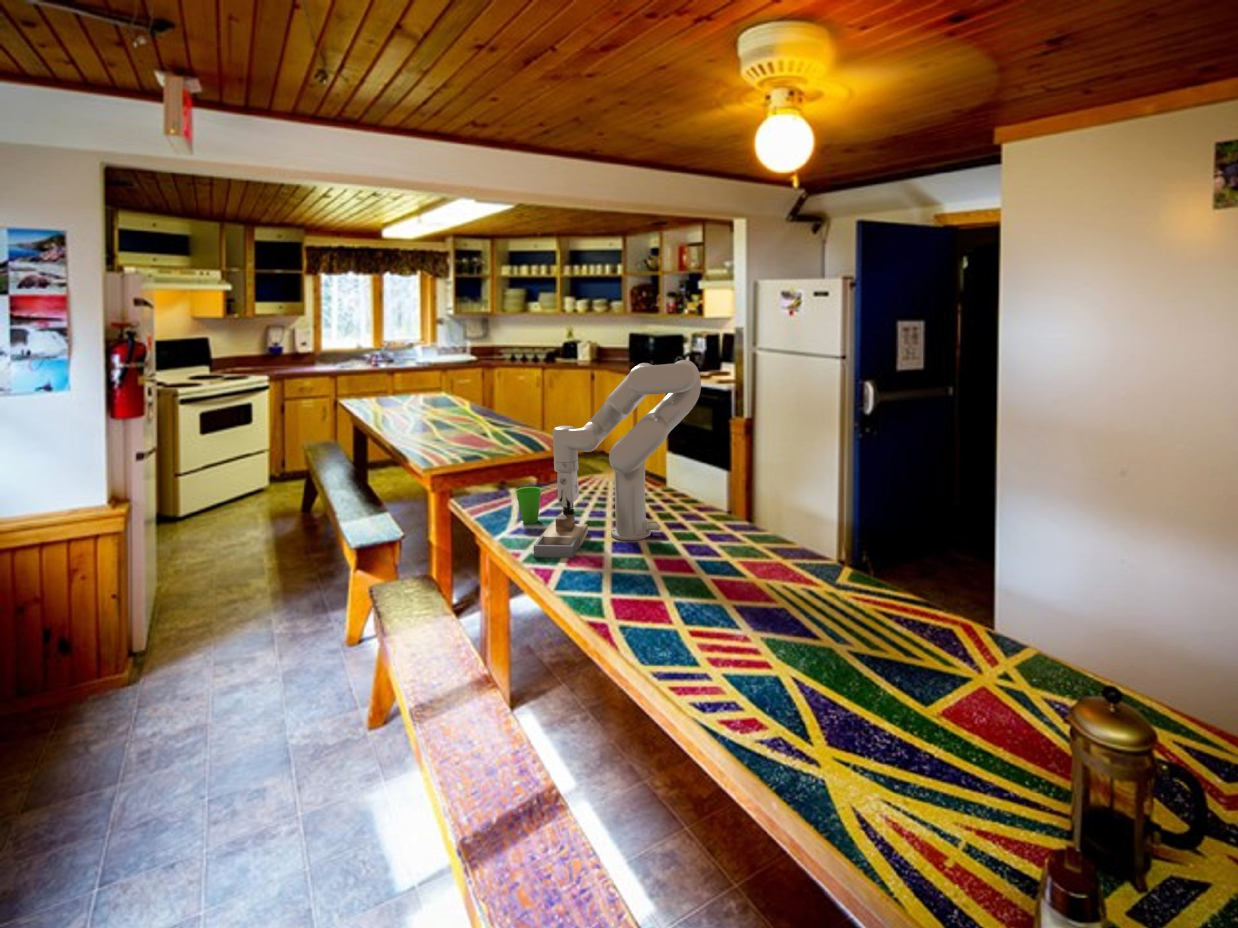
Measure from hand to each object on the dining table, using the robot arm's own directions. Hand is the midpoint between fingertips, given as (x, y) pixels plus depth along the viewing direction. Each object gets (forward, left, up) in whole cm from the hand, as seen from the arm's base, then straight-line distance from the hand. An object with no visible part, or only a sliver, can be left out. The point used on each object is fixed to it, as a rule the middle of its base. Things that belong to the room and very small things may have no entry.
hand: (568, 521), depth 230 cm
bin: (0, +18, -4) cm, 18 cm away
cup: (+16, -12, -4) cm, 20 cm away
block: (0, +5, -1) cm, 5 cm away
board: (0, +6, -4) cm, 8 cm away
